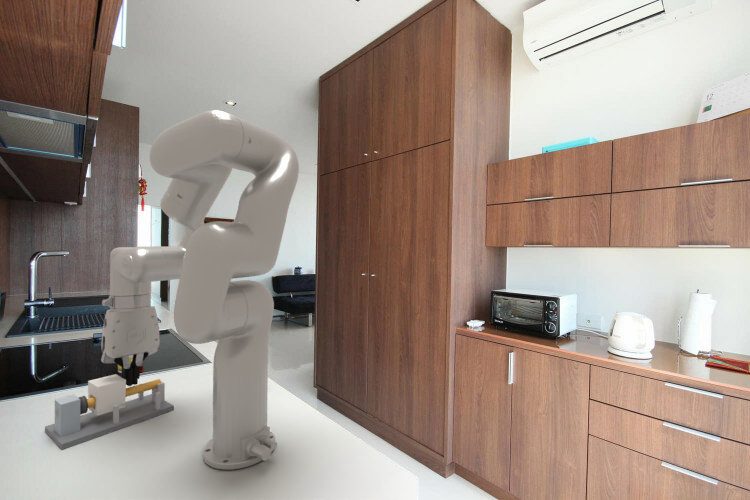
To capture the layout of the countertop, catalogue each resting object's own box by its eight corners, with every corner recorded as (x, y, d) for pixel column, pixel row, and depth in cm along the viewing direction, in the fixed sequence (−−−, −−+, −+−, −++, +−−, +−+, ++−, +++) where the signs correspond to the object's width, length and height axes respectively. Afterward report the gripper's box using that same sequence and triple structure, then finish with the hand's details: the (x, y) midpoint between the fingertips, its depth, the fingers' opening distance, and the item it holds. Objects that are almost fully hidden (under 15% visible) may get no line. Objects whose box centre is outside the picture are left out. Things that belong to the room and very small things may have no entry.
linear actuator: (152, 397, 88) (152, 368, 88) (173, 409, 82) (174, 378, 82) (44, 431, 72) (45, 396, 72) (61, 449, 66) (61, 411, 66)
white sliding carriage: (115, 400, 80) (115, 374, 80) (125, 407, 76) (125, 379, 76) (87, 408, 76) (88, 380, 76) (97, 415, 72) (97, 387, 72)
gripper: (96, 308, 71) (95, 399, 71) (173, 300, 83) (173, 377, 84) (83, 304, 76) (83, 390, 76) (159, 297, 88) (158, 371, 88)
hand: (130, 383), depth 80 cm, fingers closed
